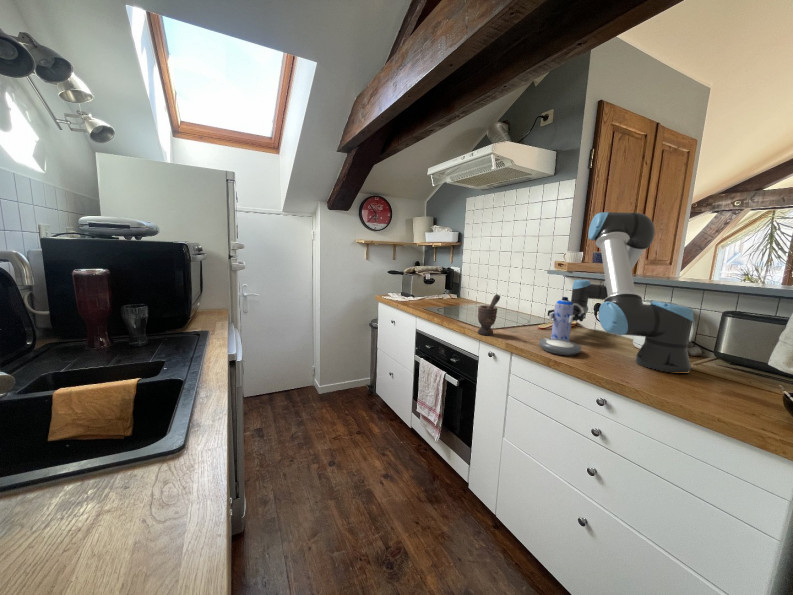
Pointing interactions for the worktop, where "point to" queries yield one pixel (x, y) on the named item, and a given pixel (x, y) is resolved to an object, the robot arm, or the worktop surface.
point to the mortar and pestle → (487, 316)
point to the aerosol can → (562, 319)
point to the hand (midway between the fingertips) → (559, 318)
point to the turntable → (559, 345)
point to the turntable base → (559, 352)
